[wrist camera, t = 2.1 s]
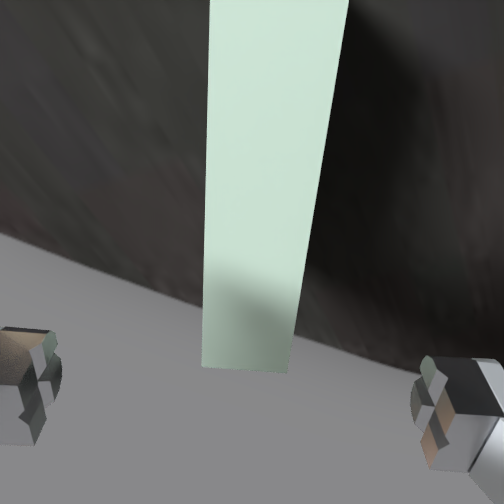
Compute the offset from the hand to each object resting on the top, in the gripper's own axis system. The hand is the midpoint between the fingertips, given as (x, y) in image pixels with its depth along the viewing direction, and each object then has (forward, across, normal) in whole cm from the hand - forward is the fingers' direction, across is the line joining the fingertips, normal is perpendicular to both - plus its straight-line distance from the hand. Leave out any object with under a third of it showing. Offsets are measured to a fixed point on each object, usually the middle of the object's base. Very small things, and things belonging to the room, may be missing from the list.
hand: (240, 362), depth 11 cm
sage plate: (+19, -1, 0) cm, 19 cm away
